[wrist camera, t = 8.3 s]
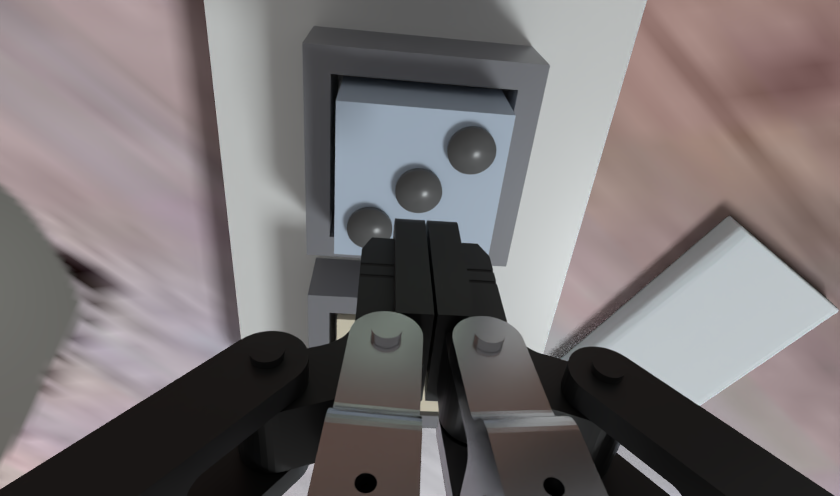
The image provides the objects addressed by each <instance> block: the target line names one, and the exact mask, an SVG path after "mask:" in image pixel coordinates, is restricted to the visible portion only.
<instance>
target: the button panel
mask: <svg viewBox="0 0 840 496" xmlns="http://www.w3.org/2000/svg"><path fill="white" fill-rule="evenodd" d="M646 2H647V0H204V6H205V15H206V25H207V34H208V43H209V52H210V61H211V70H212V79H213V88H214V97H215V107H216V116H217V125H218V134H219V143H220V152H221V161H222V170H223V179H224V189H225V198H226V207H227V216H228V225H229V234H230V243H231V252H232V261H233V271H234V280H235V289H236V298H237V307H238V316H239V325H240V334H241V339H243V338H245V337H247V336H249V335H252V334H254V333H258V332H264V331H281V332H286V333H289V334H292V335H294V336H296V337H298V338H299V339H300V340H302V342H303V343H304V344H305V345H306V347H307V348H311V347H316V346H321V345H325V344H329V343H331V342H334V341H336V340H337V315H338V313H343V314H356V307H357V296H358V286H359V275H360V265H361V255H344V254H334V215H335V129H336V99H337V95H338V92H339V89H340V86H341V83H342V79H343V76H350V77H362V78H373V79H385V80H396V81H408V82H420V83H431V84H443V85H454V86H466V87H478V88H489V89H501V90H502V92H503V93H504V95H505V97H506V99H507V101H508V102H509V104H510V106H511V108H512V110H513V111H514V113H515V115H516V117H515V122H514V127H513V132H512V138H511V143H510V148H509V153H508V158H507V163H506V168H505V173H504V179H503V184H502V189H501V194H500V199H499V204H498V209H497V214H496V220H495V225H494V230H493V235H492V240H491V245H490V250H489V256H490V260H491V264H492V268H493V273H494V275H495V279H496V284H497V286H498V290H499V293H500V297H501V301H502V305H503V308H504V312H505V316H506V319H507V323H509V324H510V325H512V326H513V327H514V328H515V329H516V330H518V332H519V333H520V334H521V336H522V337H523V339H524V342H525V344H526V347H528V348H530V349H531V350H534V351H536V352H538V353H541V354H543V352H544V349H545V345H546V342H547V338H548V335H549V332H550V328H551V325H552V321H553V318H554V315H555V311H556V308H557V304H558V301H559V298H560V294H561V291H562V287H563V284H564V281H565V277H566V274H567V270H568V267H569V264H570V260H571V257H572V253H573V250H574V247H575V243H576V240H577V236H578V233H579V230H580V226H581V223H582V219H583V216H584V213H585V209H586V206H587V202H588V199H589V196H590V192H591V189H592V185H593V182H594V179H595V175H596V172H597V168H598V165H599V162H600V158H601V155H602V151H603V148H604V145H605V141H606V138H607V134H608V131H609V128H610V124H611V121H612V117H613V114H614V111H615V107H616V104H617V100H618V97H619V94H620V90H621V87H622V83H623V80H624V77H625V73H626V70H627V66H628V63H629V60H630V56H631V53H632V49H633V46H634V43H635V39H636V36H637V32H638V29H639V26H640V22H641V19H642V15H643V12H644V9H645V5H646ZM420 416H422V428H437V422H438V416H439V412H434V411H420Z"/></svg>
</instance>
